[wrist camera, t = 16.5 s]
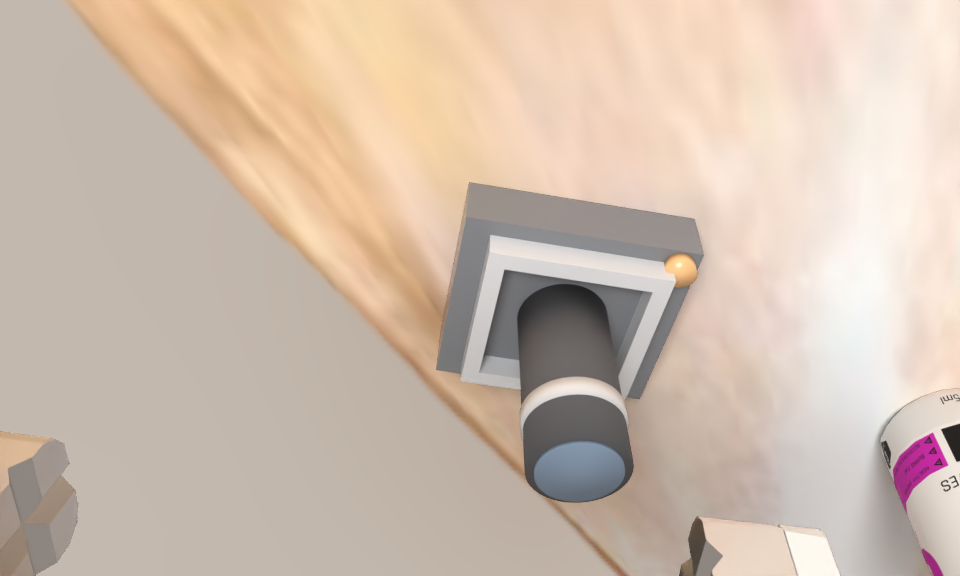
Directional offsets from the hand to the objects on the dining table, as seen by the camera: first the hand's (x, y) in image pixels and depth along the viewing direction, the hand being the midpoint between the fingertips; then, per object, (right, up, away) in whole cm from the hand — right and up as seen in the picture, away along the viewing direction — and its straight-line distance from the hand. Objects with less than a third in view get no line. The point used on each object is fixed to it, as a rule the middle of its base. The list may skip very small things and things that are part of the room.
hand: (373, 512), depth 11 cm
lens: (+6, +1, +34) cm, 34 cm away
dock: (+6, +3, +36) cm, 37 cm away
